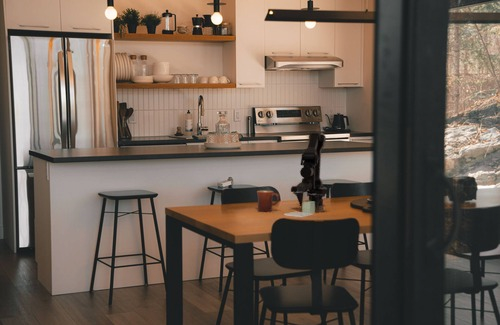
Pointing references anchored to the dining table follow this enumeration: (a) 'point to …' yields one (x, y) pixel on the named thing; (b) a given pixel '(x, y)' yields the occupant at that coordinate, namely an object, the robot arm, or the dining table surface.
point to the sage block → (308, 207)
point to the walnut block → (319, 209)
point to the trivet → (298, 214)
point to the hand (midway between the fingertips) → (308, 207)
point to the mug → (266, 200)
